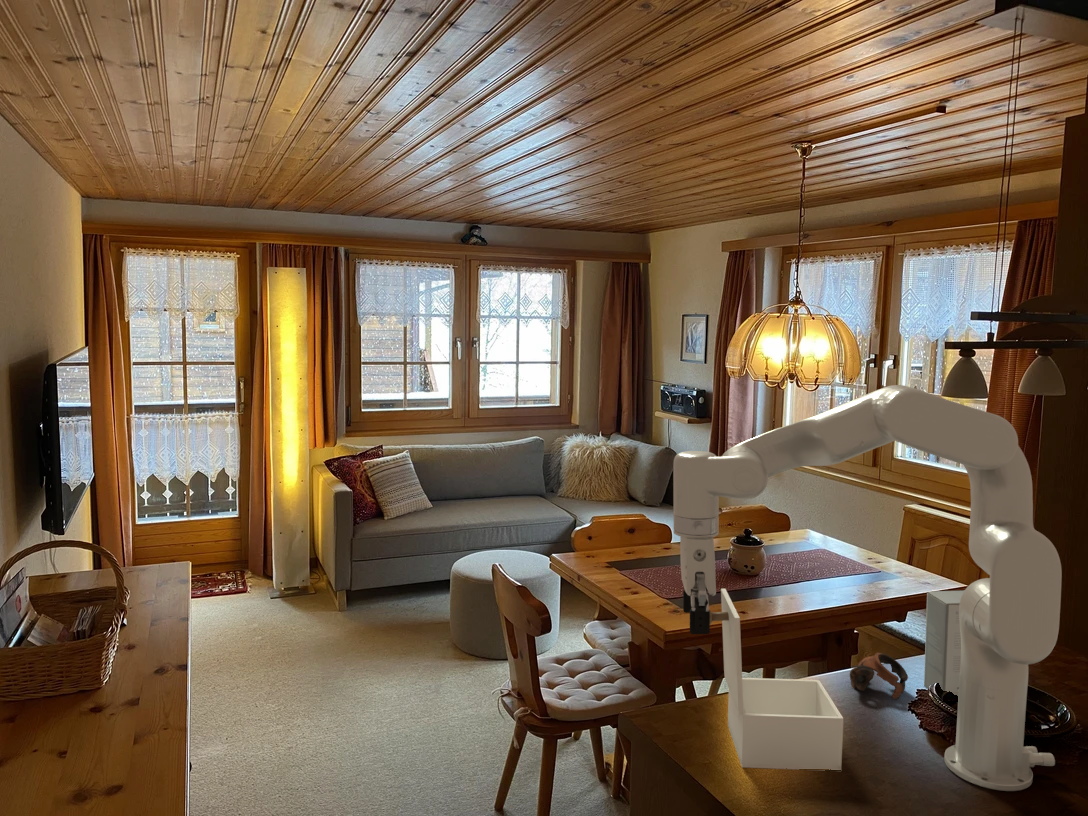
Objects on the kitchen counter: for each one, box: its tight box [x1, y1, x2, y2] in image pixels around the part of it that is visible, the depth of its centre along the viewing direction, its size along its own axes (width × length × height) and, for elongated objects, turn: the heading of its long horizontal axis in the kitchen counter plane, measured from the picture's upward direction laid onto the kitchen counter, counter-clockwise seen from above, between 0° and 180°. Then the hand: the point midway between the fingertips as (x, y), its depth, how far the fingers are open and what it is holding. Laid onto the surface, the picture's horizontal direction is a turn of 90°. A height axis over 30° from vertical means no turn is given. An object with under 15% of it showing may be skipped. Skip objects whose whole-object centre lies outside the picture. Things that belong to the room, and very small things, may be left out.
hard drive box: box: [923, 589, 965, 696], centre depth 155 cm, size 16×8×20 cm, turn 92°
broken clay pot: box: [849, 652, 909, 700], centre depth 156 cm, size 12×10×8 cm
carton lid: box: [710, 588, 744, 715], centre depth 135 cm, size 16×14×7 cm
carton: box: [727, 677, 844, 771], centre depth 135 cm, size 16×14×9 cm
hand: (695, 622), depth 135 cm, fingers open, 9 cm apart
